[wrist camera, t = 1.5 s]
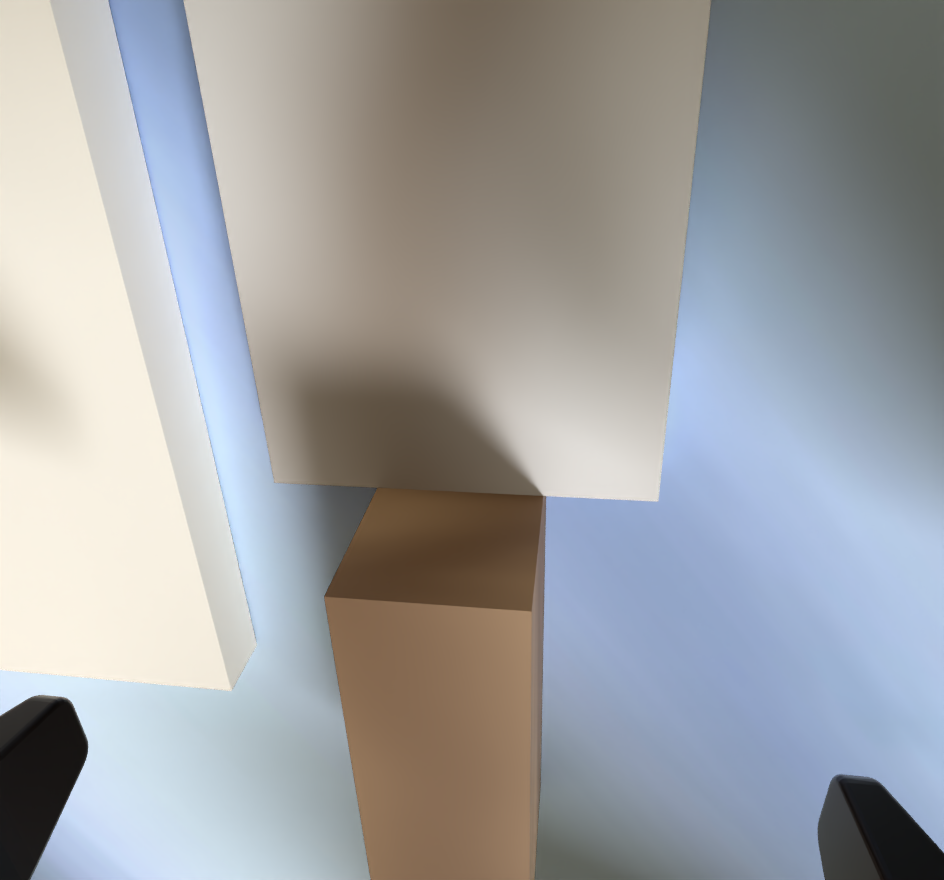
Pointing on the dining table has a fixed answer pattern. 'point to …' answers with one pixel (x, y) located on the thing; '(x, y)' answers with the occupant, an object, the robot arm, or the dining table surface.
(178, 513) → the board
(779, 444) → the dining table surface
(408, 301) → the two-tone stepped block
